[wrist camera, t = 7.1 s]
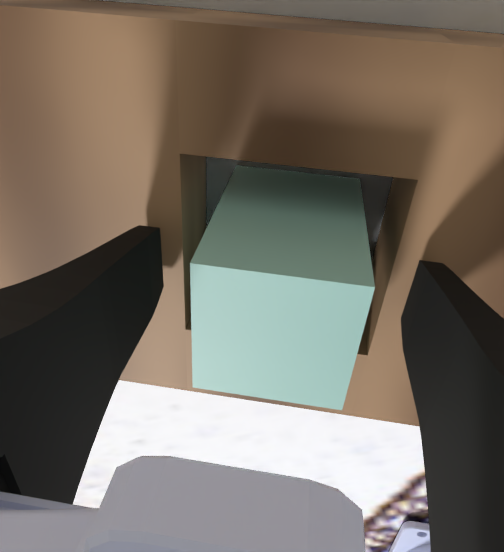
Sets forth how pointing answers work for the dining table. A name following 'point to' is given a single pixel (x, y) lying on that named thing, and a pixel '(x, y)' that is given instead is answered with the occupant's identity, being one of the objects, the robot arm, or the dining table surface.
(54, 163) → the well board
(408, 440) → the dining table surface
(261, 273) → the teal block
